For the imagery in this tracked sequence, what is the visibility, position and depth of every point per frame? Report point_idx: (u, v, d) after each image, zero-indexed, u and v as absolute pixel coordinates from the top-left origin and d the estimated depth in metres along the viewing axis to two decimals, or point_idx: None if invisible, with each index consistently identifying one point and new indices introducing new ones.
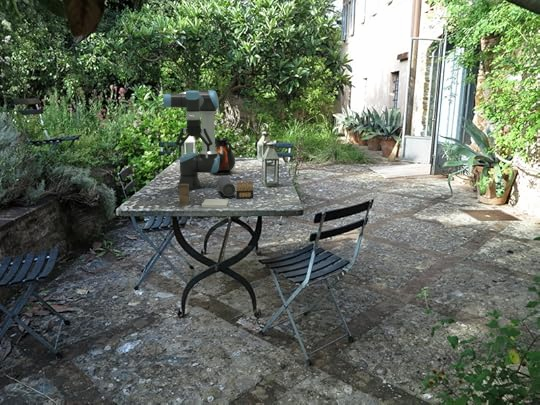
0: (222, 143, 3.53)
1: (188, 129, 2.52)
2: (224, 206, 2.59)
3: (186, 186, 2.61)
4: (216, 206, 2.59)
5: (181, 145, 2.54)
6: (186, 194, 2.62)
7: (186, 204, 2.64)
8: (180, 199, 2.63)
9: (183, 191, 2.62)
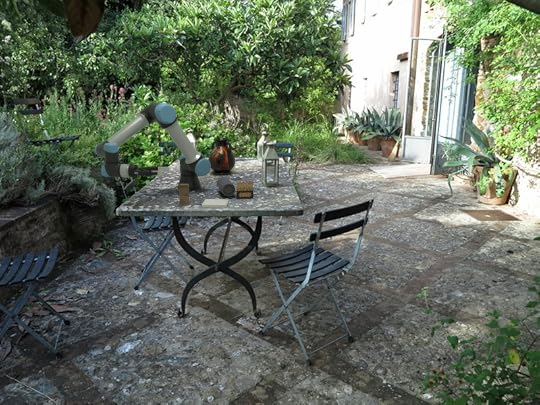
0: (222, 143, 3.53)
1: None
2: (224, 206, 2.59)
3: (186, 186, 2.61)
4: (216, 206, 2.59)
5: (157, 170, 2.68)
6: (186, 194, 2.62)
7: (186, 204, 2.64)
8: (180, 199, 2.63)
9: (183, 191, 2.62)
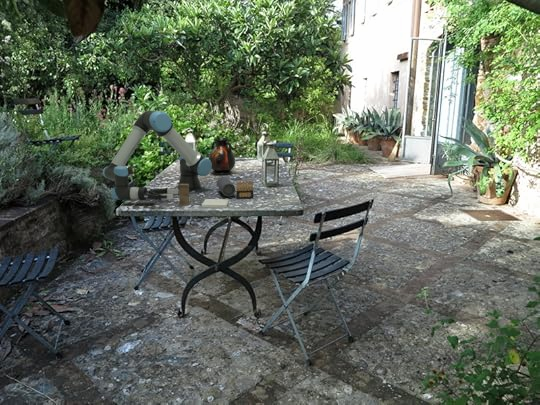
0: (222, 143, 3.53)
1: None
2: (224, 206, 2.59)
3: (186, 186, 2.61)
4: (216, 206, 2.59)
5: (167, 192, 2.71)
6: (186, 194, 2.62)
7: (186, 204, 2.64)
8: (180, 199, 2.63)
9: (183, 191, 2.62)
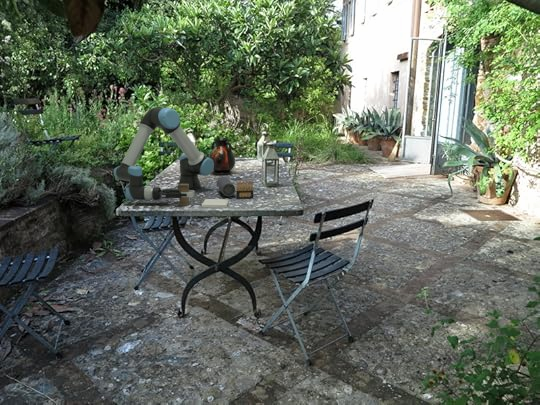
0: (222, 143, 3.52)
1: None
2: (224, 206, 2.59)
3: (186, 186, 2.61)
4: (216, 206, 2.59)
5: None
6: None
7: (186, 204, 2.64)
8: (180, 199, 2.63)
9: (183, 191, 2.62)
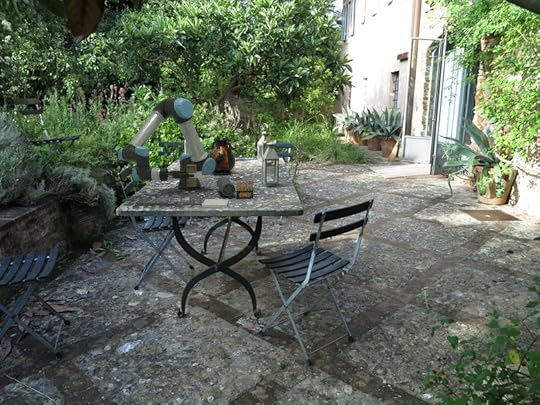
0: (222, 143, 3.53)
1: None
2: (224, 206, 2.59)
3: (193, 167, 2.57)
4: (216, 206, 2.59)
5: None
6: None
7: (193, 185, 2.60)
8: (187, 180, 2.59)
9: (190, 172, 2.58)
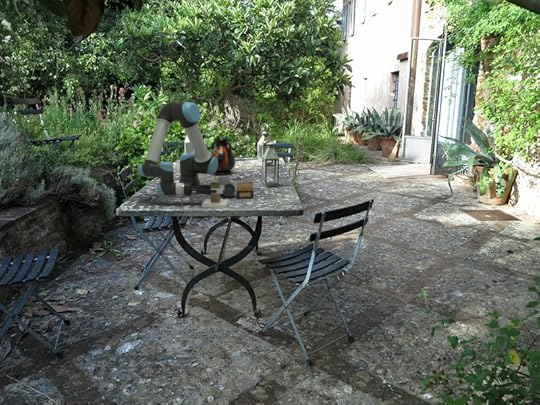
0: (222, 143, 3.53)
1: None
2: (224, 206, 2.59)
3: (217, 183, 2.61)
4: (216, 206, 2.59)
5: None
6: None
7: (217, 201, 2.64)
8: (211, 196, 2.63)
9: (214, 188, 2.62)
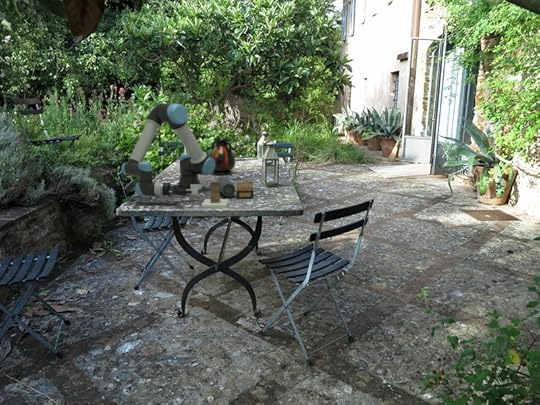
0: (222, 143, 3.53)
1: None
2: (224, 206, 2.59)
3: (217, 183, 2.61)
4: (216, 206, 2.59)
5: (190, 187, 2.71)
6: (217, 191, 2.62)
7: (217, 201, 2.64)
8: (211, 196, 2.63)
9: (214, 188, 2.62)
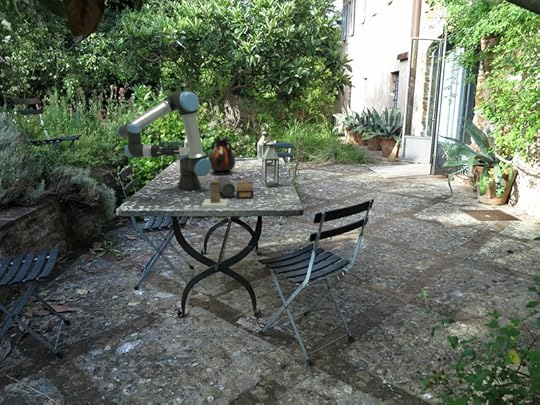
0: (222, 143, 3.53)
1: None
2: (224, 206, 2.59)
3: (217, 183, 2.61)
4: (216, 206, 2.59)
5: None
6: (217, 191, 2.62)
7: (217, 201, 2.64)
8: (211, 196, 2.63)
9: (214, 188, 2.62)
